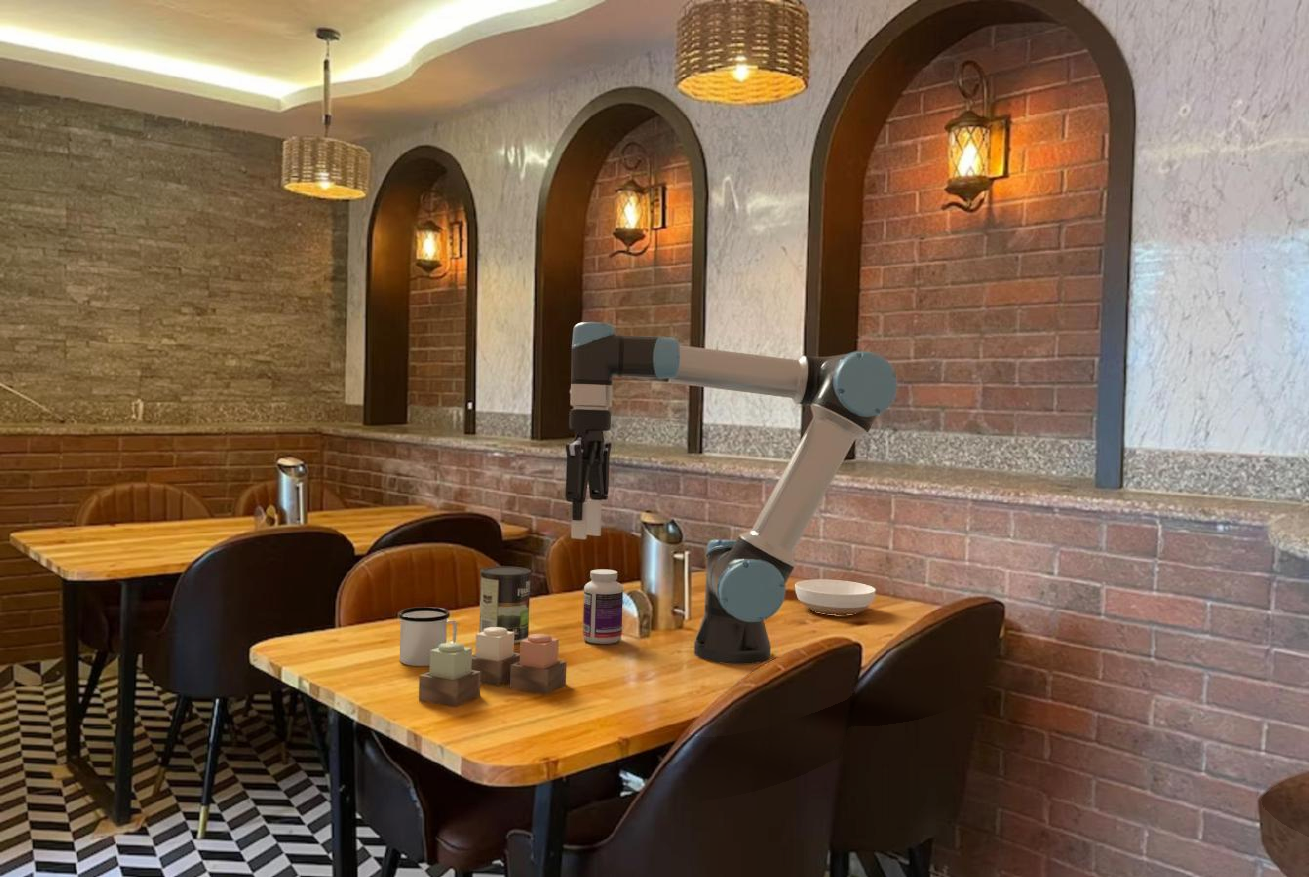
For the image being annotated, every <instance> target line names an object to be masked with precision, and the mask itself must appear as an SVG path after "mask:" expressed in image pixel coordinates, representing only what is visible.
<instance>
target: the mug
mask: <svg viewBox="0 0 1309 877" xmlns="http://www.w3.org/2000/svg"><path fill="white" fill-rule="evenodd" d="M450 616H451V612H450V611H449V610H448V609H446V608H442V607H432V606H431V607H429V606H423V607H422V606H420V607H419V606H418V607H410V608H406V609H405V608H404V609H402V610H400V611H398V612H397V618H398V619H399V620H400V635H399V638H400V639H399V662H400V663H402V664H404V665H406V666H411V667H430V650H433V649H436V648H439V645H440V644H443V643H447V635H448V634H447V633H448V632H447V627H448V626H447V624H450V623H452V624H453V627H452V628H453V632H452V640H451V641H450V642H448V643H457V642H456V640H457V633H458V632H457V631H458V628H457V627H458V622H457V621H456V620H454V619H449V618H450Z"/></svg>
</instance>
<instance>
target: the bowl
mask: <svg viewBox="0 0 1309 877" xmlns="http://www.w3.org/2000/svg"><path fill="white" fill-rule="evenodd" d="M794 588H795V594H796V597H797V599H798V600H799V602H801V604H802V605H803V606H804V607H806V608H808V609H810V610H813V611H816V612H820V613H825V614H836V615H847V614H855V613H857V614H858V613H861V612H864V611H865V610H867V609H868V608H869V607H870V606H871V605H872V604H873V602H874V600H875V597H876V591H877V590H876V588H875V587H874V586H871V585H868V584H864V583H860V582H855V581H850V580H841V579H840V580H839V579H825V578H822V579H821V578H820V579H819V578H817V579H805V580H799V581H797V582H796V583H795V584H794ZM813 611H812V612H813Z"/></svg>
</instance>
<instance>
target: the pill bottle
mask: <svg viewBox="0 0 1309 877" xmlns="http://www.w3.org/2000/svg"><path fill="white" fill-rule="evenodd" d="M589 575H590V576H589V578H590V579H591V580H590V581H589V582H587V583H585V585H584V587H583V610H582V611H583V614H582V617H583V618H582V638H583V640H584V641H585V642H587V643H590V644H593V645H594V644H595V645H612V644H615V643H618V642H619V641H620V640H621V639H622V636H623V634H622V633H623V600H624V599H623V598H624V597H623V596H624V588H623V586H622V584H621V583H620V582H618V581H617V580H618V571H616V570H614V569H603V568H602V569H601V568H600V569H593V570H590V573H589Z"/></svg>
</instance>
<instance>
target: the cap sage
mask: <svg viewBox="0 0 1309 877" xmlns="http://www.w3.org/2000/svg"><path fill="white" fill-rule="evenodd" d="M472 653H473V648H472V647H468V646H467V647H466V646H465V645H464V644H463V643H459V642H455V643H449V642H446V643H443V644H440V645H439V648H436V649H433V650H430V666H429V671H428V672H429V676H433V677H439V678H444V679H450V680H457V679H459V678H461V677H464V676H466V675H469V674H471V664H472V655H473V654H472Z"/></svg>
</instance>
